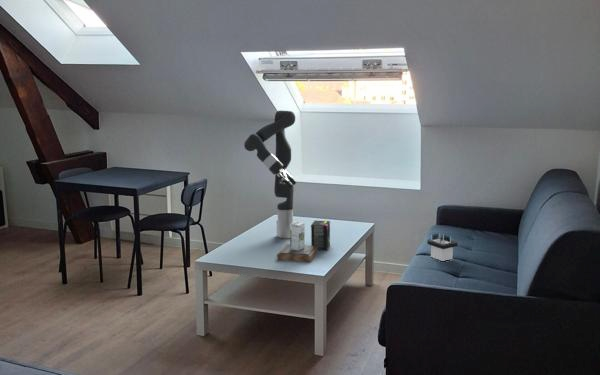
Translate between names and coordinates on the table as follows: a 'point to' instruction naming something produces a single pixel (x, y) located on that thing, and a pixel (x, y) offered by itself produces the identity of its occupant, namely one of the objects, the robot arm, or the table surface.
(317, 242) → the tampon box
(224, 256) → the table surface
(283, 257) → the brown wooden flat block
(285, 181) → the robot arm
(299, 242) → the syrup box
